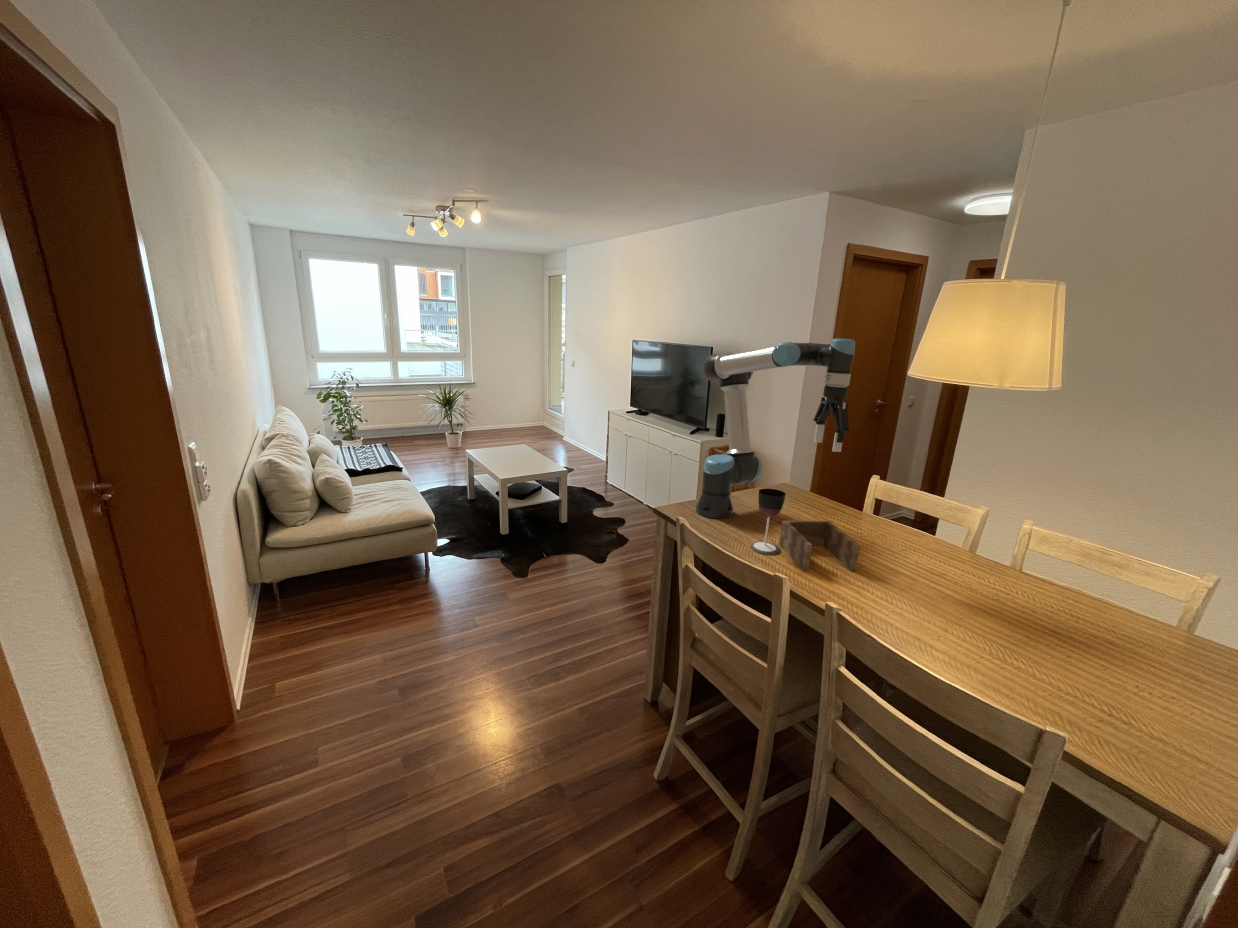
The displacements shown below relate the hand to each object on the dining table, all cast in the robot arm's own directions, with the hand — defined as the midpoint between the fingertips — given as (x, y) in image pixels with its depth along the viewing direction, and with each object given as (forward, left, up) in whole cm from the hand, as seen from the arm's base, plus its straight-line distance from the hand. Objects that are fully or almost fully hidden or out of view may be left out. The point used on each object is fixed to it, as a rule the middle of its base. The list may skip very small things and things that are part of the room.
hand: (826, 446), depth 173 cm
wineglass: (+8, -21, -34) cm, 41 cm away
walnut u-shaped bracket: (+15, -6, -35) cm, 38 cm away
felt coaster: (+9, -21, -35) cm, 42 cm away
